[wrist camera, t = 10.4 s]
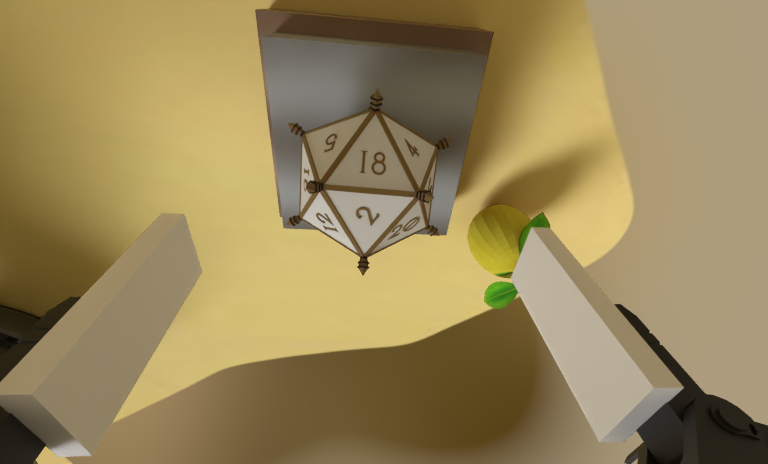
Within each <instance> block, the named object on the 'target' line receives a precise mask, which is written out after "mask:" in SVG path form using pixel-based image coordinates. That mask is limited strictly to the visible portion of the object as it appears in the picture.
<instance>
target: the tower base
mask: <svg viewBox="0 0 768 464" xmlns="http://www.w3.org/2000/svg"><path fill="white" fill-rule="evenodd" d="M255 12H256V20H257V28H258V37H259V45H260V53H261V62H262V70H263V78H264V87H265V95H266V103H267V112H268V120H269V129H270V137H271V145H272V154H273V162H274V170H275V179H276V187H277V195H278V204H279V212H280V217H282V218H283V227H284V228H291V229H314V230H317V229H316V228H314V227H312V226H311V225H309V224H308V223H306V222H305V221H303V220H302V221H300V222H299V224H296V225H295V226H291V225H286V224H287V222H288V221H289V218H290V217H293V216H294V215H295V216H297V215H299V199H300V165H301V136H299V135H295V133H292V132H291V129H290V127H289V125H288V123H294V124H297V123H298V125H299V126H300V127H301V126H302V129H303V130H304V131H305V132H306V131H309V130H312V129H314V128H317V127H320V126H323V125H326V124H328V123H331V122H334V121H337V120H340V119H342V118H345V117H348V116H351V115H354V114H357V113H359V112H362V111H365V110H368V108H369V107H371V104H370V102H371V99H370V97H371V96H372V95H373V94H374V93H375V91H376V90H377V89H378V90H379V92H380V95H381V96H382V97H383V100H382V105H381V106H380V110H382V111H383V112H385V113H386V114H388V115H390V116H391V117H393V118H394V119H396V120H398V121H399V122H401V123H402V124H404V125H406V126H407V127H409V128H410V129H412V130H414V131H415V132H417V133H418V134H420V135H422V136H423V137H425V138H426V139H428V140H429V141H431V142H433V143H434V144H437V143H438V142H439V140H442V139H443V138H446V139H453V140H452V141H451V143H450V144H449V147H446V148H445V149H439V150H438V158H437V165H436V173H435V181H434V189H433V197H434V199H433V200H432V205H431V213H430V220H429V225H431V226H432V225H433V226H434V227H436V228H437V229H438V233H439V235H446V234H447V230H448V225H449V221H450V217H451V212H452V208H453V204H454V200H455V195H456V191H457V187H458V183H459V178H460V174H461V170H462V165H463V161H464V157H465V153H466V148H467V144H468V140H469V136H470V131H471V127H472V123H473V118H474V114H475V110H476V106H477V101H478V97H479V93H480V89H481V84H482V80H483V76H484V72H485V67H486V63H487V59H488V54H489V50H490V46H491V41H492V37H493V33H494V32H491V31H486V30H482V29H476V28H465V27H455V26H444V25H434V24H423V23H413V22H402V21H392V20H381V19H371V18H360V17H350V16H339V15H329V14H318V13H308V12H297V11H287V10H277V9H257V10H255ZM416 234H428V235H431V234H430V233H428V232H427V230H426V229H424V230H422V231H420V232H418V233H416Z"/></svg>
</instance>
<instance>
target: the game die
mask: <svg viewBox="0 0 768 464" xmlns="http://www.w3.org/2000/svg"><path fill="white" fill-rule="evenodd" d="M370 99H371V102H370V104H371V107H369V108H368V110H365V111H362V112H359V113H357V114H354V115H351V116H348V117H345V118H342V119H340V120H337V121H334V122H331V123H328V124H326V125H323V126H320V127H317V128H314V129H312V130H309V131H306V132H305V131H304V130H303V129H302V126H301V127H300V126H299V125H298V123H297V124H294V123H288V125H289V127H290V129H291V132H292V133H295V135H299V136H301V165H300V199H299V215H297V216H295V215H294V216H293V217H290V218H289V221H288V222H287V224H286V225H291V226H295V225H296V224H299V222H300V221H302V220H303V221H305V222H306V223H308V224H309V225H311V226H312V227H314V228H316V229H317V230H319V231H320V232H322V233H323V234H325V235H327V236H328V237H330V238H331V239H333V240H335V241H336V242H338V243H339V244H341V245H342V246H344V247H346V248H347V249H349V250H350V251H352V252H353V253H355V254H357V255H358V256H360V261H359V262H358V263H359V266H358V267H357V268H359V270H360V272H361V273H362V275H364V273H365V272H366V270H367V269H368V268H369V267H368V264H369V262H368V260H367V257H369V256H371V255H373V254H375V253H377V252H379V251H381V250H383V249H385V248H387V247H389V246H391V245H393V244H395V243H397V242H399V241H401V240H403V239H405V238H407V237H410V236H412V235H414V234H416V233H418V232H420V231H422V230H424V229H426V230H427V232H428V233H430V234H431V235H430V236H432V235H436V236H440V235H439V233H438V229H437V228H436V227H434V226H433V225H432V226H431V225H429V220H430V213H431V205H432V200H433V199H434V197H433V189H434V181H435V173H436V165H437V158H438V150H439V149H445V148H446V147H449V144H450V143H451V141H452V140H453V139H446V138H443V139H442V140H439V142H438V143H437V144H434V143H433V142H431V141H429V140H428V139H426V138H425V137H423V136H422V135H420V134H418V133H417V132H415V131H414V130H412V129H410V128H409V127H407V126H406V125H404V124H402V123H401V122H399V121H398V120H396V119H394V118H393V117H391V116H390V115H388V114H386V113H385V112H383V111H382V110H380V106H381V105H382V100H383V97H382V96H381V95H380V92H379V90H378V89H377V90H376V91H375V93H374V94H373V95H372V96H371V97H370Z"/></svg>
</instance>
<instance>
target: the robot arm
mask: <svg viewBox="0 0 768 464" xmlns="http://www.w3.org/2000/svg"><path fill="white" fill-rule="evenodd" d="M201 273H202V269H201V266H200V263H199V260H198V257H197V253H196V250H195V247H194V244H193V241H192V237H191V234H190V231H189V228H188V225H187V221H186V218H185V215H184V214H167V213H162V214H161V215H160V216H159V217H158V218H157V219H156V220H155V221H154V222H153V223H152V224H151V225H150V226H149V227H148V228H147V229H146V230H145V231H144V232H143V233H142V234H141V236H140V237H139V238H138V239H137V240H136V241H135V242H134V243H133V244H132V245H131V246H130V247H129V248H128V249H127V250H126V251H125V252H124V253H123V254H122V255H121V256H120V257H119V259H118V260H117V261H116V262H115V263H114V264H113V265H112V266H111V267H110V268H109V269H108V270H107V271H106V272H105V273H104V274H103V275H102V276H101V277H100V278H99V279H98V280H97V282H96V283H95V284H94V285H93V286H92V287H91V288H90V289H89V290H88V291H87V292H86V293H85V294H84V295H83V296H82V297H70V298H69V299H67V300H65V301H64V302H62V303H61V304H59V305H57V306H56V307H54V308H53V309H51V310H49V311H48V312H47V313H46V314H45V315H44V316H43V317H42V318H41V319H38V318H35V317H33V316H30V315H28V314H25V313H22V312H19V311H16V310H12V309H9V308H5V307H0V464H38V463H37V461H36V458H37V457H38V455H39V454H40V453H41V451H42V450H43V449H44V447H45V446H46V447H47V448H49V449H50V450H51V451H52V452H53V453H54V454H55V455H57V456H58V457H66V456H92V455H93V454H94V452H95V450H96V449H97V447H98V445H99V444H100V442H101V440H102V439H103V437H104V435H105V434H106V432H107V430H108V429H109V427H110V425H111V424H112V422H113V420H114V419H115V417H116V415H117V414H118V412H119V410H120V409H121V407H122V405H123V404H124V402H125V400H126V399H127V397H128V395H129V393H130V392H131V390H132V388H133V387H134V385H135V383H136V382H137V380H138V378H139V377H140V375H141V373H142V372H143V370H144V368H145V367H146V365H147V363H148V362H149V360H150V358H151V357H152V355H153V353H154V352H155V350H156V348H157V347H158V345H159V343H160V342H161V340H162V338H163V336H164V335H165V333H166V331H167V330H168V328H169V326H170V325H171V323H172V321H173V320H174V318H175V316H176V315H177V313H178V311H179V310H180V308H181V306H182V305H183V303H184V301H185V300H186V298H187V296H188V295H189V293H190V291H191V290H192V288H193V286H194V285H195V283H196V281H197V279H198V278H199V276H200V274H201ZM511 280H512V282H513V284H514V286H515V287H516V289H517V291H518V293H519V295H520V297H521V299H522V300H523V302H524V304H525V306H526V308H527V310H528V311H529V313H530V315H531V317H532V319H533V320H534V322H535V324H536V326H537V328H538V330H539V332H540V333H541V335H542V337H543V339H544V341H545V343H546V345H547V346H548V348H549V350H550V352H551V354H552V356H553V357H554V359H555V361H556V363H557V365H558V366H559V368H560V370H561V372H562V374H563V376H564V377H565V379H566V381H567V383H568V385H569V387H570V389H571V391H572V392H573V394H574V396H575V398H576V400H577V402H578V403H579V405H580V407H581V409H582V411H583V413H584V414H585V416H586V418H587V420H588V422H589V424H590V425H591V427H592V429H593V431H594V433H595V435H596V436H597V438H598V440H599V442H624V441H626V440H627V439H628V438H629V437H630V436H632V435H633V434H634V433H635V432H636V431H637V432H638V433H639V435H640V436H641V438H642V440H643V441H644V442H643V443H642V444H641V445H640V446H639V447H637V448H636V449H635V450H634V451H633V452H632V453H631V454H629V455H628V456H627V458H626V460H625V463H627V464H631V463H632V462H634V461H635V460H636V459H637V458H638V464H768V426H767V425H764V424H760V423H757V422H754V421H753V420H752V419H751V418H750V417H749V416H748V415H747V414H746V413H745V412H743V411H742V410H741V409H740V408H738V407H737V406H735V405H733V404H732V403H730V402H728V401H727V400H725V399H722V398H720V397H717V396H714V395H707V394H705V393H704V392H703V391H702V390H701V388H699V386H698V385H697V384H696V383H695V382H694V381H693V380H692V378H691V377H690V376H689V375H688V374H687V373H686V372H685V370H684V369H683V368H682V367H681V366H680V365H679V364H678V362H677V361H676V360H675V359H674V358H673V357H672V356H671V355H670V354H669V352H668V351H667V350H666V349H665V348H664V347H663V346H662V345H660V342H659V341H658V340H657V339H656V337H655V336H654V335H653V334H650V333H649V330H648V328H647V327H646V326H645V325H644V324H643V323H642V322H641V321H640V319H639V318H638V317H637V316H636V315H634V314H633V313H632V312H630V311H629V310H627V309H626V308H625V307H623V306H622V305H620V304H613V303H612V301H611V300H610V299H609V298H608V297H607V295H606V294H605V293H604V292H603V291H602V289H601V288H600V287H599V286H598V285H597V284H596V282H595V281H594V280H593V279H592V278H591V276H590V275H589V274H588V273H587V272H586V270H585V269H584V268H583V267H582V266H581V264H580V263H579V262H578V261H577V260H576V258H575V257H574V256H573V255H572V254H571V253H570V251H569V250H568V249H567V248H566V247H565V245H564V244H563V243H562V242H561V241H560V239H559V238H558V237H557V236H556V235H555V234H554V232H553V231H552V230H551V229H550V228H540V227H531V230H530V232H529V234H528V237H527V239H526V242H525V244H524V247H523V249H522V252H521V254H520V257H519V259H518V262H517V264H516V266H515V269H514V271H513V274H512V276H511Z"/></svg>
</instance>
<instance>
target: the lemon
mask: <svg viewBox="0 0 768 464" xmlns="http://www.w3.org/2000/svg"><path fill="white" fill-rule="evenodd" d="M531 227H540V228H550V224H549V222H548V220H547V218H546V217H545V215H544V213H543V212H542V213H541V214H539V215H538V216H536V217H535V218H533V219H532V220H530V219H529V218H528V217H527V216H526V215H525V214H524V213H522V212H521V211H520V210H518V209H516V208H514V207H511V206H508V205H494V206H490V207H487V208H485V209H484V210H482V211H480V212H479V213H478V214H477V215H476V216H475V217H474V218H473V220H472V222H471V224H470V226H469V231H468V242H469V247H470V250H471V252H472V254H473V256H474V257H475V259H476V260H477V261H478V262H479V264H480V265H481V266H482V267H483V268H484V269H486V270H487V271H489V272H490V273H492V274H494V275H496V276H499V277H503V278H511V276H512V274H513V271H514V269H515V266H516V264H517V262H518V259H519V257H520V254H521V252H522V249H523V247H524V244H525V242H526V239H527V237H528V234H529V232H530V230H531ZM517 293H518V291H517V289H516V287H515V286H514V284H512V283H508V282H502V281H501V282H495V283H493V284H491V285H490V286H488V288H487V289H486V291H485V299H484V302H485V303H486V304H488V305H489V306H490V307H492V308H495V309H500V308H504V307H505V306H506V305H508V304H509V303H510V302H512V301H513V300H514V298H515V297H516V295H517Z"/></svg>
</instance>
